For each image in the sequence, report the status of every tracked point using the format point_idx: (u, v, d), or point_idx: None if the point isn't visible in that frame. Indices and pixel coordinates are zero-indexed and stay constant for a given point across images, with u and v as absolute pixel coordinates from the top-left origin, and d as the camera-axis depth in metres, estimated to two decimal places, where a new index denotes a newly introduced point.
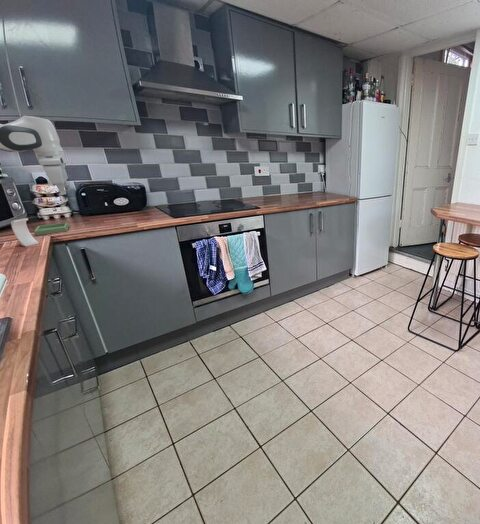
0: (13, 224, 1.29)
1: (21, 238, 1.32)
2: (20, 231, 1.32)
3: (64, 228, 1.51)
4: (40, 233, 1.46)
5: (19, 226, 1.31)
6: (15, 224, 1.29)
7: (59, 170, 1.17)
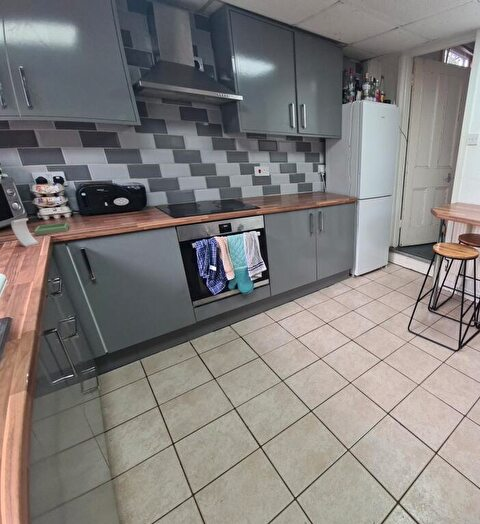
0: (13, 224, 1.29)
1: (21, 238, 1.32)
2: (20, 231, 1.32)
3: (64, 228, 1.51)
4: (40, 233, 1.46)
5: (19, 226, 1.31)
6: (15, 224, 1.29)
7: None
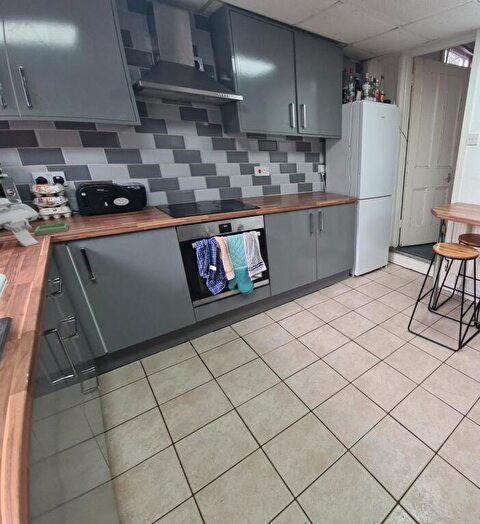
0: (11, 224, 1.28)
1: (21, 238, 1.32)
2: None
3: (64, 228, 1.51)
4: (40, 233, 1.46)
5: (17, 226, 1.31)
6: (13, 224, 1.29)
7: None
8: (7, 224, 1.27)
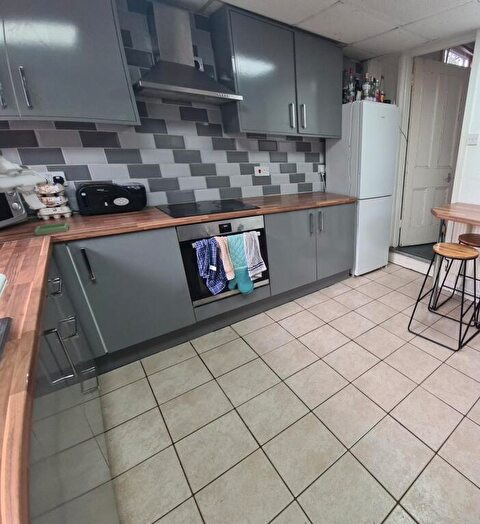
0: (22, 188, 1.38)
1: (30, 202, 1.41)
2: None
3: (64, 228, 1.51)
4: (40, 233, 1.46)
5: (28, 190, 1.40)
6: (24, 188, 1.39)
7: None
8: (19, 187, 1.37)
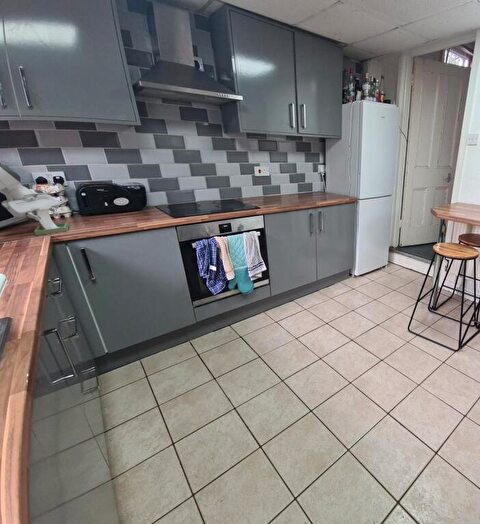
0: (38, 211, 1.46)
1: (44, 224, 1.50)
2: (43, 218, 1.50)
3: (64, 228, 1.51)
4: (40, 233, 1.46)
5: (43, 213, 1.49)
6: (40, 211, 1.47)
7: None
8: (29, 212, 1.43)
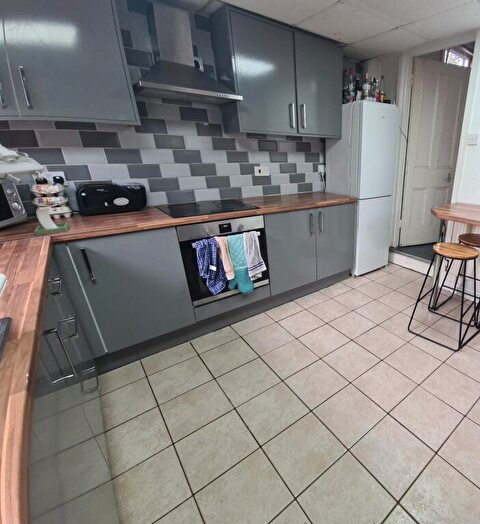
0: (38, 211, 1.46)
1: (44, 224, 1.50)
2: (43, 218, 1.50)
3: (64, 228, 1.51)
4: (40, 233, 1.46)
5: (43, 213, 1.49)
6: (40, 211, 1.47)
7: None
8: (9, 174, 1.35)
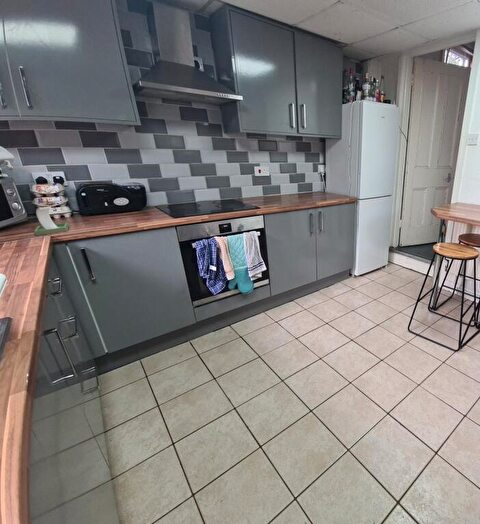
0: (38, 211, 1.46)
1: (44, 224, 1.50)
2: (43, 218, 1.50)
3: (64, 228, 1.51)
4: (40, 233, 1.46)
5: (43, 213, 1.49)
6: (39, 211, 1.47)
7: None
8: None
